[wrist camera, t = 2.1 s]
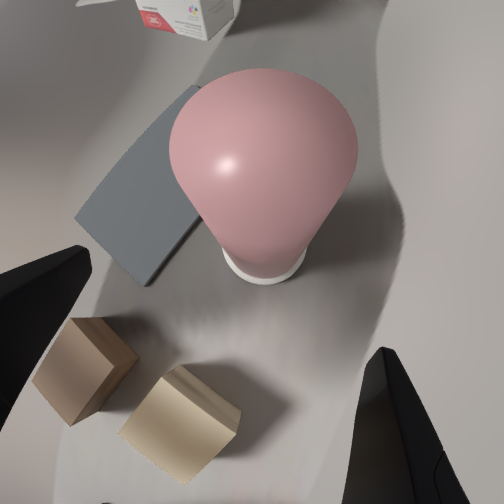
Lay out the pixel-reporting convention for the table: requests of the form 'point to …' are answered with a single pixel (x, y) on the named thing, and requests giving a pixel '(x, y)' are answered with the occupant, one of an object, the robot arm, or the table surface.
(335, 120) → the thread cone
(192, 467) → the birch block
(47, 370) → the walnut block
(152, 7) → the ink cartridge box
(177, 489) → the table surface
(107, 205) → the slate mat
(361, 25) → the table surface
